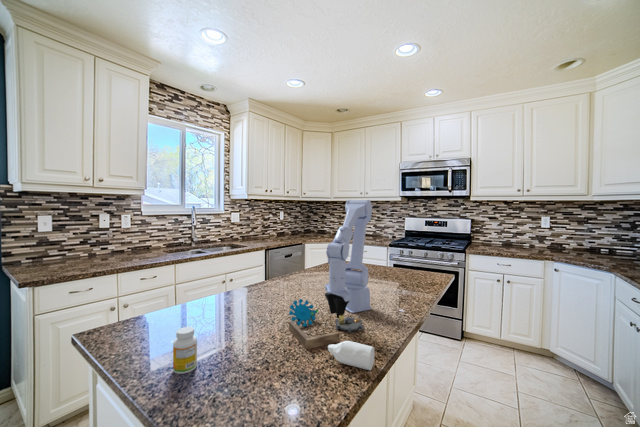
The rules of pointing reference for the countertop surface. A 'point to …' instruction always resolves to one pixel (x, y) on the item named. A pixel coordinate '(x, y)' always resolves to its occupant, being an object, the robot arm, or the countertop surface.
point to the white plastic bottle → (353, 354)
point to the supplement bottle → (185, 351)
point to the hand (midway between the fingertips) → (336, 315)
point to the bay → (313, 341)
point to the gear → (303, 312)
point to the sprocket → (348, 324)
